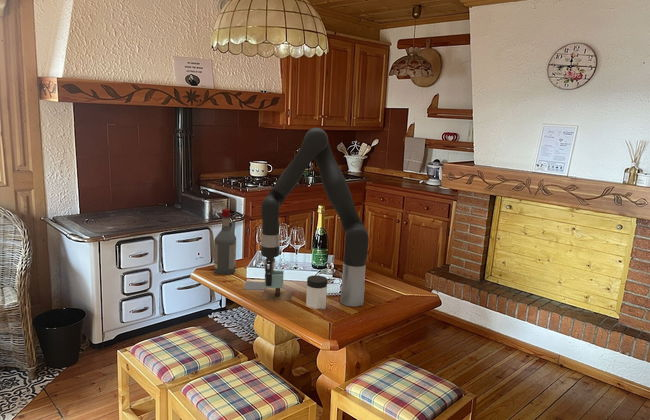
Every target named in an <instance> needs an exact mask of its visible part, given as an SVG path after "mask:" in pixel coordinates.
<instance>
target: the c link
mask: <svg viewBox="0 0 650 420" xmlns="http://www.w3.org/2000/svg"><path fill="white" fill-rule="evenodd" d="M284 272H285V271H284V270H278V269H276V270H275V269H274V271H273V272H272V285H271V286H266V277H265V276H264V282H265V289H266V288H269V289H270V288H271V289H275V288H280V289H283V287H284V274H285V273H284ZM267 275H270V273H267Z"/></svg>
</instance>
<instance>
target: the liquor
mask: <svg viewBox="0 0 650 420" xmlns="http://www.w3.org/2000/svg"><path fill="white" fill-rule="evenodd" d="M230 218H231V209H229V208H222V209H221V220H222V221H221V223H222V224H221V230H220V231H219V232H218V233H217V235H216V236H215V238H214V239H213V240H214V245H213V246H214V247H213V248H214V249H213V254H214V255H213V271H214V273H215V274H216V275H219V276H220V275H223V276H230V275H233V274H234V272H235V270H236V263H237V262H236V260H237V236H236V235H235V234H234V233H233V232H232V230H231V227H230Z"/></svg>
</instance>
